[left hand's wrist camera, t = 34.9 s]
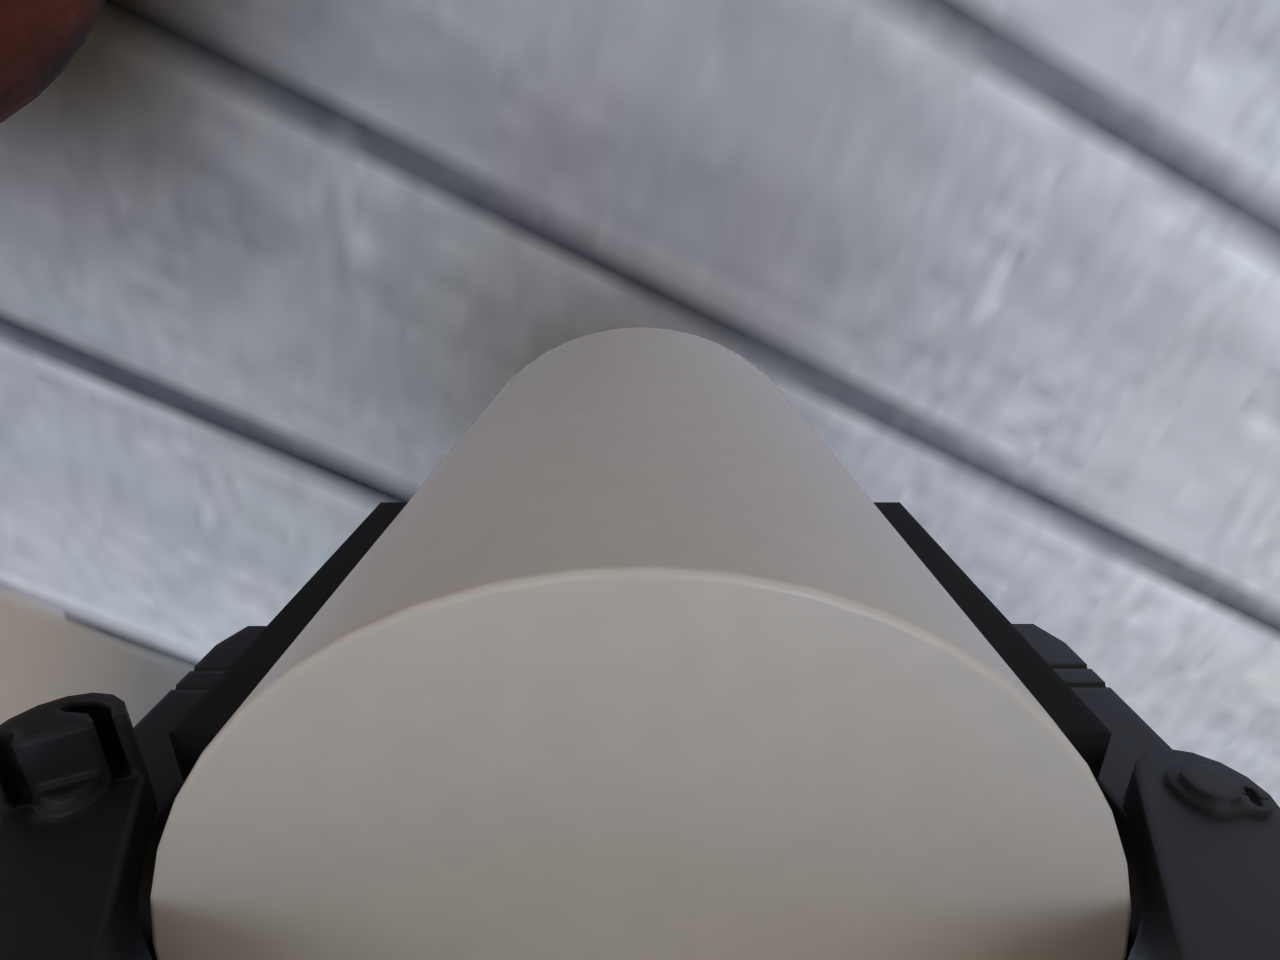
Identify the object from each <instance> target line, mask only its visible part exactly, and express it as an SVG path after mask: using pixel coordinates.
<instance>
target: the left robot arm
mask: <svg viewBox="0 0 1280 960" xmlns="http://www.w3.org/2000/svg"><path fill="white" fill-rule="evenodd" d="M406 504H407V503H380V504H379V505H378V506H377V507H376V509H375V510H374V511H373V512H372V513H371V514H370V515H369V516H368V517H367V518H366V519H365V520H364V522H363V523H362V524H361V525H360V526H359V527H358V528H357V529H356V530H355V531H354V532H353V533H352V535H351V536H350V537H349V538H348V539H347V540H346V541H345V542H344V543H343V544H342V545H341V547H340V548H339V549H338V550H337V551H336V552H335V553H334V554H333V555H332V556H331V557H330V558H329V560H328V561H327V562H326V563H325V564H324V565H323V566H322V567H321V568H320V569H319V570H318V571H317V573H316V574H315V575H314V576H313V577H312V578H311V579H310V580H309V581H308V582H307V583H306V585H305V586H304V587H303V588H302V589H301V590H300V591H299V592H298V593H297V594H296V595H295V596H294V598H293V599H292V600H291V601H290V602H289V603H288V604H287V605H286V606H285V607H284V608H283V609H282V611H281V612H280V613H279V614H278V615H277V616H276V617H275V618H274V619H273V620H272V621H271V622H270V624H269V625H268V626H248V627H246V628H244V629H242V630H241V631H239V632H237V633H236V634H234V635H232V636H231V637H229V638H227V639H226V640H224V641H222V642H221V643H219V644H217V645H216V646H215V647H214V648H213V649H212V650H211V651H210V652H209V653H208V654H207V655H206V656H205V657H204V658H203V659H202V660H201V661H200V662H199V663H198V664H197V665H196V666H195V669H194V671H190V672H189V673H188V674H187V675H186V676H185V677H184V678H183V679H182V680H181V681H180V682H179V683H178V684H177V685H176V689H175V690H171V691H170V692H169V693H168V694H167V695H166V696H165V697H164V698H163V699H162V700H161V701H160V702H159V703H158V704H157V705H156V706H155V707H154V708H153V709H152V710H151V711H150V712H149V713H148V714H147V715H146V716H145V717H144V718H143V719H142V720H141V721H140V722H139V723H138V724H137V725H136V726H135V727H134V728H133V726H132V723H131V720H130V717H129V714H128V711H127V708H126V705H125V702H124V701H122V700H121V699H119V698H117V697H116V696H114V695H111V694H101V693H88V694H81V695H74V696H67V697H64V698H61V699H57V700H54V701H51V702H48V703H45V704H41V705H38V706H36V707H34V708H32V709H29V710H27V711H25V712H23V713H21V714H19V715H17V716H15V717H13V718H10V719H9V720H7V721H6V722H4V723H3V724H1V725H0V960H157V958H156V954H155V950H154V946H153V936H152V918H151V900H150V897H151V890H152V883H153V876H154V869H155V862H156V855H157V849H158V845H159V843H160V840H161V837H162V834H163V831H164V828H165V826H166V823H167V820H168V817H169V814H170V811H171V809H172V806H173V803H174V800H175V798H176V796H177V794H178V793H179V791H180V789H181V787H182V786H183V784H184V782H185V781H186V779H187V777H188V776H189V774H190V772H191V770H192V769H193V767H194V765H195V764H196V762H197V760H198V758H199V757H200V755H201V753H202V752H203V751H204V749H205V748H206V747H207V746H208V745H209V743H210V742H211V741H212V740H213V738H214V737H215V736H216V735H217V734H218V732H219V731H220V730H221V729H222V728H223V726H224V725H225V724H226V723H227V721H228V720H229V719H230V718H231V717H232V715H233V714H234V713H235V712H236V711H237V709H238V708H239V707H240V706H241V705H242V703H243V702H244V701H245V700H246V698H247V697H248V696H249V695H250V694H251V692H252V691H253V690H254V689H255V688H256V686H257V685H258V684H259V683H260V681H261V680H262V679H263V678H264V677H265V675H266V674H267V673H268V672H269V671H270V669H271V668H272V667H273V666H274V665H275V663H276V662H277V661H278V660H279V658H280V657H281V656H282V655H283V654H284V652H285V651H286V650H287V649H288V648H289V646H290V645H291V644H292V643H293V641H294V640H295V639H296V638H297V637H298V635H299V634H300V633H301V632H302V631H303V629H304V628H305V627H306V626H307V624H308V623H309V622H310V621H311V620H312V618H313V617H314V616H315V615H316V614H317V612H318V611H319V610H320V609H321V608H322V606H323V605H324V604H325V603H326V601H327V600H328V599H329V598H330V597H331V595H332V594H333V593H334V592H335V591H336V589H337V588H338V587H339V586H340V584H341V583H342V582H343V581H344V580H345V578H346V577H347V576H348V575H349V574H350V572H351V571H352V570H353V569H354V567H355V566H356V565H357V564H358V563H359V561H360V560H361V559H362V558H363V557H364V555H365V554H366V553H367V552H368V551H369V549H370V548H371V547H372V546H373V544H374V543H375V542H376V541H377V540H378V538H379V537H380V536H381V535H382V534H383V532H384V531H385V530H386V529H387V527H388V526H389V525H390V524H391V523H392V521H393V520H394V519H395V518H396V517H397V515H398V514H399V513H400V512H401V510H402V509H403V508H404V507H405V506H406ZM874 504H875V505H876V507H877V508H878V509H879V510H880V512H881V513H882V514H883V515H884V516H885V518H886V519H887V520H888V521H889V522H890V524H891V525H892V526H893V527H894V528H895V530H896V531H897V532H898V533H899V534H900V536H901V537H902V538H903V539H904V541H905V542H906V543H907V544H908V545H909V547H910V548H911V549H912V550H913V551H914V553H915V554H916V555H917V556H918V557H919V559H920V560H921V561H922V562H923V563H924V565H925V566H926V567H927V568H928V570H929V571H930V572H931V573H932V574H933V576H934V577H935V578H936V579H937V580H938V582H939V583H940V584H941V585H942V586H943V588H944V589H945V590H946V591H947V592H948V594H949V595H950V596H951V597H952V599H953V600H954V601H955V602H956V603H957V605H958V606H959V607H960V608H961V609H962V611H963V612H964V613H965V614H966V615H967V617H968V618H969V619H970V620H971V621H972V623H973V624H974V625H975V626H976V628H977V629H978V630H979V631H980V632H981V634H982V635H983V636H984V637H985V638H986V640H987V641H988V642H989V643H990V644H991V646H992V647H993V648H994V649H995V650H996V652H997V653H998V654H999V655H1000V657H1001V658H1002V659H1003V660H1004V661H1005V663H1006V664H1007V665H1008V666H1009V667H1010V669H1011V670H1012V671H1013V672H1014V673H1015V675H1016V676H1017V677H1018V678H1019V679H1020V681H1021V682H1022V683H1023V684H1024V686H1025V687H1026V688H1027V689H1028V690H1029V692H1030V693H1031V694H1032V695H1033V696H1034V698H1035V699H1036V700H1037V701H1038V702H1039V704H1040V705H1041V706H1042V707H1043V708H1044V710H1045V711H1046V712H1047V713H1048V715H1049V716H1050V717H1051V718H1052V719H1053V721H1054V722H1055V723H1056V724H1057V726H1058V727H1059V728H1060V730H1061V731H1062V732H1063V733H1064V735H1065V736H1066V737H1067V739H1068V740H1069V741H1070V742H1071V744H1072V745H1073V746H1074V748H1075V749H1076V750H1077V751H1078V753H1079V754H1080V755H1081V757H1082V758H1083V759H1084V760H1085V762H1086V763H1087V764H1088V766H1089V768H1090V770H1091V772H1092V774H1093V776H1094V778H1095V780H1096V781H1097V783H1098V785H1099V787H1100V789H1101V791H1102V793H1103V795H1104V797H1105V799H1106V801H1107V803H1108V805H1109V806H1110V808H1111V810H1112V813H1113V816H1114V820H1115V823H1116V827H1117V830H1118V833H1119V837H1120V840H1121V844H1122V847H1123V850H1124V854H1125V857H1126V861H1127V867H1128V878H1129V890H1130V901H1131V918H1130V927H1129V936H1128V945H1127V955H1126V958H1125V960H1280V808H1279V806H1278V805H1277V804H1276V803H1275V801H1274V800H1273V799H1272V797H1271V796H1270V795H1269V794H1268V793H1267V792H1265V791H1264V790H1263V789H1262V788H1260V787H1259V786H1258V785H1256V784H1255V783H1254V782H1253V781H1251V780H1250V779H1249V778H1248V777H1246V776H1244V775H1242V774H1240V773H1238V772H1237V771H1235V770H1233V769H1231V768H1229V767H1227V766H1226V765H1224V764H1222V763H1220V762H1217V761H1214V760H1211V759H1208V758H1206V757H1203V756H1200V755H1197V754H1194V753H1190V752H1184V751H1178V750H1172V749H1171V748H1170V747H1169V746H1168V745H1167V744H1166V743H1165V742H1164V741H1163V740H1162V739H1161V738H1160V737H1159V736H1158V735H1157V734H1156V733H1155V732H1154V731H1153V730H1152V729H1151V728H1150V727H1149V726H1148V725H1147V724H1146V723H1145V722H1144V721H1143V720H1142V719H1141V718H1140V717H1139V716H1138V715H1137V714H1136V713H1135V712H1134V711H1133V710H1132V709H1131V708H1130V707H1129V706H1128V705H1127V704H1126V703H1125V702H1124V701H1123V700H1122V699H1121V698H1120V697H1119V696H1118V695H1117V694H1116V693H1115V692H1114V691H1113V690H1112V689H1111V688H1106V686H1105V682H1104V681H1103V680H1102V679H1101V678H1100V677H1099V676H1098V675H1097V674H1096V673H1095V672H1094V671H1093V670H1092V669H1087V664H1086V663H1085V662H1084V661H1083V660H1082V659H1081V658H1080V657H1079V656H1078V655H1077V654H1076V653H1075V652H1074V651H1073V650H1072V649H1071V648H1070V647H1069V646H1068V645H1067V644H1066V643H1064V642H1063V641H1061V640H1059V639H1058V638H1056V637H1054V636H1052V635H1051V634H1049V633H1047V632H1046V631H1044V630H1042V629H1041V628H1039V627H1037V626H1036V625H1034V624H1011V623H1010V622H1009V621H1008V620H1007V619H1006V618H1005V617H1004V615H1003V614H1002V613H1001V612H1000V611H999V610H998V609H997V608H996V607H995V606H994V605H993V604H992V602H991V601H990V600H989V599H988V598H987V597H986V596H985V595H984V594H983V593H982V592H981V590H980V589H979V588H978V587H977V586H976V585H975V584H974V583H973V582H972V581H971V580H970V579H969V577H968V576H967V575H966V574H965V573H964V572H963V571H962V570H961V569H960V568H959V567H958V566H957V564H956V563H955V562H954V561H953V560H952V559H951V558H950V557H949V556H948V555H947V554H946V553H945V551H944V550H943V549H942V548H941V547H940V546H939V545H938V544H937V543H936V542H935V541H934V539H933V538H932V537H931V536H930V535H929V534H928V533H927V532H926V531H925V530H924V529H923V528H922V526H921V525H920V524H919V523H918V522H917V521H916V520H915V519H914V518H913V517H912V516H911V515H910V513H909V512H908V511H907V510H906V509H905V508H904V507H903V506H902V505H901V504H900V503H874Z"/></svg>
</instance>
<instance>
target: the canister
mask: <svg viewBox="0 0 1280 960" xmlns="http://www.w3.org/2000/svg"><path fill="white" fill-rule="evenodd" d="M150 900H151V918H152V936H153V946H154V950H155V954H156V958H157V960H1125V958H1126V955H1127V945H1128V936H1129V927H1130V918H1131V901H1130V890H1129V878H1128V867H1127V861H1126V857H1125V854H1124V850H1123V847H1122V844H1121V840H1120V837H1119V833H1118V830H1117V827H1116V823H1115V820H1114V816H1113V813H1112V810H1111V808H1110V806H1109V805H1108V803H1107V801H1106V799H1105V797H1104V795H1103V793H1102V791H1101V789H1100V787H1099V785H1098V783H1097V781H1096V780H1095V778H1094V776H1093V774H1092V772H1091V770H1090V768H1089V766H1088V764H1087V763H1086V762H1085V760H1084V759H1083V758H1082V757H1081V755H1080V754H1079V753H1078V751H1077V750H1076V749H1075V748H1074V746H1073V745H1072V744H1071V742H1070V741H1069V740H1068V739H1067V737H1066V736H1065V735H1064V733H1063V732H1062V731H1061V730H1060V728H1059V727H1058V726H1057V724H1056V723H1055V722H1054V721H1053V719H1052V718H1051V717H1050V716H1049V715H1048V713H1047V712H1046V711H1045V710H1044V708H1043V707H1042V706H1041V705H1040V704H1039V702H1038V701H1037V700H1036V699H1035V698H1034V696H1033V695H1032V694H1031V693H1030V692H1029V690H1028V689H1027V688H1026V687H1025V686H1024V684H1023V683H1022V682H1021V681H1020V679H1019V678H1018V677H1017V676H1016V675H1015V673H1014V672H1013V671H1012V670H1011V669H1010V667H1009V666H1008V665H1007V664H1006V663H1005V661H1004V660H1003V659H1002V658H1001V657H1000V655H999V654H998V653H997V652H996V650H995V649H994V648H993V647H992V646H991V644H990V643H989V642H988V641H987V640H986V638H985V637H984V636H983V635H982V634H981V632H980V631H979V630H978V629H977V628H976V626H975V625H974V624H973V623H972V621H971V620H970V619H969V618H968V617H967V615H966V614H965V613H964V612H963V611H962V609H961V608H960V607H959V606H958V605H957V603H956V602H955V601H954V600H953V599H952V597H951V596H950V595H949V594H948V592H947V591H946V590H945V589H944V588H943V586H942V585H941V584H940V583H939V582H938V580H937V579H936V578H935V577H934V576H933V574H932V573H931V572H930V571H929V570H928V568H927V567H926V566H925V565H924V563H923V562H922V561H921V560H920V559H919V557H918V556H917V555H916V554H915V553H914V551H913V550H912V549H911V548H910V547H909V545H908V544H907V543H906V542H905V541H904V539H903V538H902V537H901V536H900V534H899V533H898V532H897V531H896V530H895V528H894V527H893V526H892V525H891V524H890V522H889V521H888V520H887V519H886V518H885V516H884V515H883V514H882V513H881V512H880V510H879V509H878V508H877V507H876V505H875V504H874V503H873V502H872V501H871V499H870V498H869V497H868V496H867V495H866V493H865V492H864V491H863V490H862V489H861V487H860V486H859V485H858V484H857V483H856V481H855V480H854V479H853V478H852V476H851V475H850V474H849V473H848V472H847V470H846V469H845V468H844V467H843V466H842V464H841V463H840V462H839V461H838V460H837V458H836V457H835V456H834V455H833V454H832V452H831V451H830V450H829V449H828V447H827V446H826V445H825V444H824V443H823V441H822V440H821V439H820V438H819V437H818V435H817V434H816V433H815V432H814V431H813V429H812V428H811V427H810V426H809V425H808V423H807V422H806V421H805V420H804V418H803V417H802V416H801V415H800V414H799V412H798V411H797V410H796V409H795V408H794V406H793V405H792V404H791V403H790V402H789V400H788V399H787V398H786V397H785V396H784V394H783V393H782V392H781V391H780V389H779V388H778V387H777V386H776V385H775V384H774V383H773V382H772V381H771V380H770V379H769V378H768V377H767V376H766V375H765V374H764V373H763V372H762V371H761V370H759V369H758V368H757V367H755V366H754V365H753V364H751V363H750V362H749V361H747V360H746V359H744V358H743V357H742V356H740V355H739V354H737V353H735V352H733V351H731V350H729V349H727V348H725V347H724V346H722V345H720V344H718V343H715V342H713V341H710V340H707V339H705V338H702V337H699V336H696V335H693V334H689V333H684V332H680V331H675V330H671V329H662V328H650V327H633V328H617V329H611V330H606V331H600V332H595V333H591V334H588V335H585V336H582V337H579V338H576V339H573V340H570V341H568V342H566V343H564V344H561V345H559V346H557V347H555V348H553V349H551V350H549V351H547V352H546V353H544V354H543V355H541V356H539V357H538V358H536V359H535V360H533V361H532V362H530V363H529V364H527V365H526V366H525V367H524V368H523V369H522V370H521V371H519V372H518V373H517V374H516V375H515V376H514V377H513V378H512V379H510V380H509V381H508V382H507V384H506V385H505V386H504V387H503V388H502V390H501V391H500V392H499V393H498V394H497V395H496V397H495V398H494V399H493V400H492V401H491V403H490V404H489V405H488V406H487V407H486V409H485V410H484V411H483V412H482V413H481V415H480V416H479V417H478V418H477V420H476V421H475V422H474V423H473V424H472V426H471V427H470V428H469V429H468V430H467V432H466V433H465V434H464V435H463V437H462V438H461V439H460V440H459V441H458V443H457V444H456V445H455V446H454V447H453V449H452V450H451V451H450V452H449V453H448V455H447V456H446V457H445V458H444V460H443V461H442V462H441V463H440V464H439V466H438V467H437V468H436V469H435V470H434V472H433V473H432V474H431V475H430V477H429V478H428V479H427V480H426V481H425V483H424V484H423V485H422V486H421V487H420V489H419V490H418V491H417V492H416V494H415V495H414V496H413V497H412V498H411V500H410V501H409V502H408V503H407V504H406V506H405V507H404V508H403V509H402V510H401V512H400V513H399V514H398V515H397V517H396V518H395V519H394V520H393V521H392V523H391V524H390V525H389V526H388V527H387V529H386V530H385V531H384V532H383V534H382V535H381V536H380V537H379V538H378V540H377V541H376V542H375V543H374V544H373V546H372V547H371V548H370V549H369V551H368V552H367V553H366V554H365V555H364V557H363V558H362V559H361V560H360V561H359V563H358V564H357V565H356V566H355V567H354V569H353V570H352V571H351V572H350V574H349V575H348V576H347V577H346V578H345V580H344V581H343V582H342V583H341V584H340V586H339V587H338V588H337V589H336V591H335V592H334V593H333V594H332V595H331V597H330V598H329V599H328V600H327V601H326V603H325V604H324V605H323V606H322V608H321V609H320V610H319V611H318V612H317V614H316V615H315V616H314V617H313V618H312V620H311V621H310V622H309V623H308V624H307V626H306V627H305V628H304V629H303V631H302V632H301V633H300V634H299V635H298V637H297V638H296V639H295V640H294V641H293V643H292V644H291V645H290V646H289V648H288V649H287V650H286V651H285V652H284V654H283V655H282V656H281V657H280V658H279V660H278V661H277V662H276V663H275V665H274V666H273V667H272V668H271V669H270V671H269V672H268V673H267V674H266V675H265V677H264V678H263V679H262V680H261V681H260V683H259V684H258V685H257V686H256V688H255V689H254V690H253V691H252V692H251V694H250V695H249V696H248V697H247V698H246V700H245V701H244V702H243V703H242V705H241V706H240V707H239V708H238V709H237V711H236V712H235V713H234V714H233V715H232V717H231V718H230V719H229V720H228V721H227V723H226V724H225V725H224V726H223V728H222V729H221V730H220V731H219V732H218V734H217V735H216V736H215V737H214V738H213V740H212V741H211V742H210V743H209V745H208V746H207V747H206V748H205V749H204V751H203V752H202V753H201V755H200V757H199V758H198V760H197V762H196V764H195V765H194V767H193V769H192V770H191V772H190V774H189V776H188V777H187V779H186V781H185V782H184V784H183V786H182V787H181V789H180V791H179V793H178V794H177V796H176V798H175V800H174V803H173V806H172V809H171V811H170V814H169V817H168V820H167V823H166V826H165V828H164V831H163V834H162V837H161V840H160V843H159V845H158V849H157V855H156V862H155V869H154V876H153V883H152V890H151V897H150Z"/></svg>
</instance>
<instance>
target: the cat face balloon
mask: <svg viewBox="0 0 1280 960" xmlns="http://www.w3.org/2000/svg"><path fill="white" fill-rule="evenodd" d="M105 1H106V0H0V123H1V122H3V121H4V120H6V119H7V118H9V117H10V116H11V115H13V114H14V113H16V112H17V111H18V110H20V109H21V108H23V107H24V106H25V105H27V104H28V103H30V102H31V101H32V100H34V99H35V98H36V97H37V96H38V95H39V94H40V93H41V92H42V91H43V90H44V89H45V88H46V87H47V86H48V85H49V84H50V83H51V82H52V81H53V80H54V79H55V78H56V77H57V76H58V75H59V74H60V73H62V71H63V70H64V69H65V67H66V66H67V64H68V63H69V62H70V60H71V59H72V58H73V56H74V55H75V53H76V52H77V51H78V49H79V48H80V47H81V45H82V44H83V42H84V41H85V39H86V37H87V36H88V34H89V32H90V31H91V29H92V27H93V25H94V23H95V21H96V19H97V17H98V15H99V13H100V11H101V9H102V7H103V5H104V3H105Z"/></svg>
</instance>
